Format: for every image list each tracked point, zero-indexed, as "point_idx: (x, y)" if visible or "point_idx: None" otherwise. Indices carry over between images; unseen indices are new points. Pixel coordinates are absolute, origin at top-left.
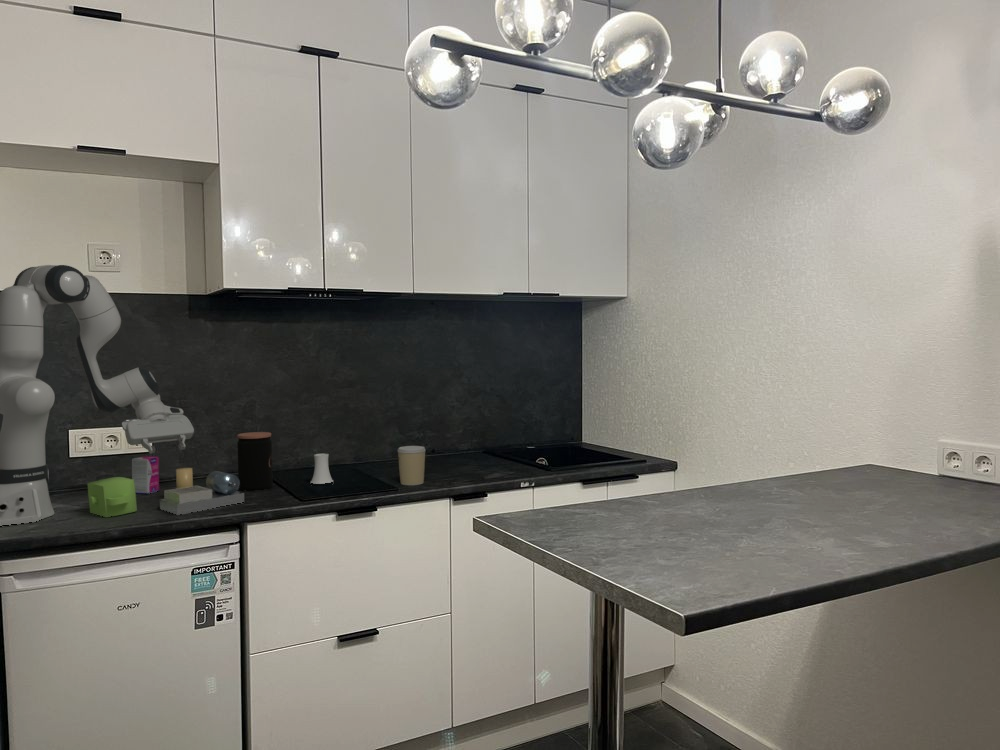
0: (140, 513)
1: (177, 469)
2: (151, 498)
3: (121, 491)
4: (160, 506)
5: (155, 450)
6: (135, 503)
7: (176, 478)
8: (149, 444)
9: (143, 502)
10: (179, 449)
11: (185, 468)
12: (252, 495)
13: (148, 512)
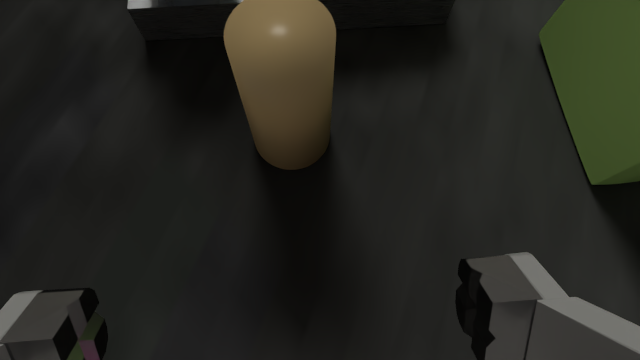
0: (525, 16)
1: (321, 50)
2: (408, 308)
3: None
4: (449, 9)
5: (460, 260)
6: (560, 10)
7: (333, 74)
8: (574, 318)
9: (468, 229)
10: (105, 351)
11: (262, 48)
12: (39, 12)
13: (495, 11)
